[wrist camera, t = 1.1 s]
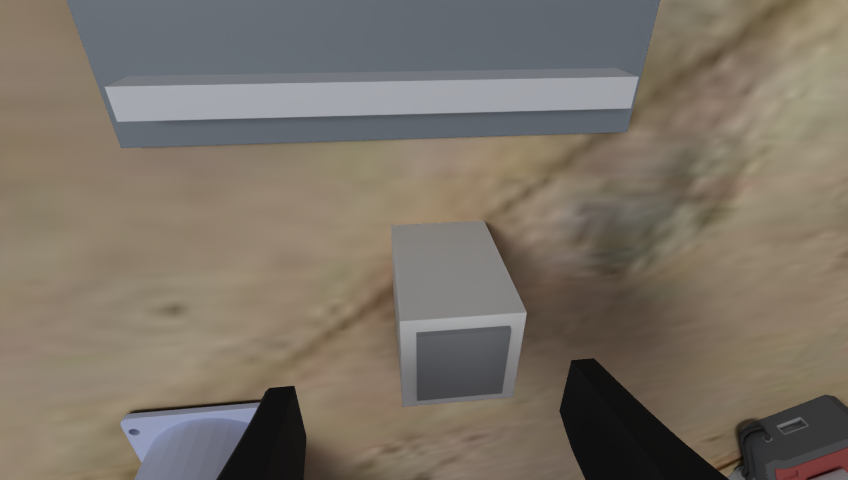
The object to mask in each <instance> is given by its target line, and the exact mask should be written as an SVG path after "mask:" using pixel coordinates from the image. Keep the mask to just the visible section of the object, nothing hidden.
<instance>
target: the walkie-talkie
mask: <svg viewBox="0 0 848 480" xmlns="http://www.w3.org/2000/svg"><path fill="white" fill-rule="evenodd" d="M738 434H739V435H740V436H739V439H740V444H741V449H742V453H743V458H744V463H745V465H743V466H740V467H737V468H736V469H735V470H734V471H733V472H732V473H731V475H730V476H729V477H728V479H729V480H848V408H847V407H846V406H845V405H844V404H842V403H841V402H840V401H839V400H838V399H837V398H836V397H834V396H829V395H823V396H821V397H818V398H816V399H813V400H810V401H808V402H805V403H803V404H800V405H797V406H795V407H792V408H790V409H787V410H784V411H782V412H779V413H777V414H774V415H771V416H769V417H766V418H763V419H761V420H758V421H756V422H753V423H750V424H748V425H746V426H745V427H744V428H743V429H742V430H741V431H740V432H739V433H738Z"/></svg>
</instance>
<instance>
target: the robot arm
mask: <svg viewBox="0 0 848 480" xmlns="http://www.w3.org/2000/svg"><path fill="white" fill-rule="evenodd" d="M560 414H561V417H562V420H563V424H564V427H565V430H566V433H567V436H568V439H569V442H570V445H571V448H572V451H573V453H574V455H575V457H576V460H577V462H578V464H579V466H580V469H581V471H582V473H583V475H584V477H585V480H729V479H728V478H727V477H725V476H724V475H723V474H721V473H720V472H719V471H718V470H716V469H715V468H714V467H713V466H711V465H710V464H709V463H708V462H706V461H705V460H704V459H703V458H702V457H700V456H699V455H698V454H697V453H696V452H694V451H693V450H692V449H691V448H690V447H688V446H687V445H686V444H685V443H684V442H683V441H682V440H680V439H679V438H678V437H677V436H676V435H675V434H674V433H672V432H671V431H670V430H669V429H668V428H667V427H666V426H665V425H664V424H662V423H661V422H660V421H659V420H658V419H657V418H656V417H655V416H654V415H653V414H651V413H650V412H649V411H648V410H647V409H646V408H645V407H644V406H643V405H642V404H641V403H640V402H639V401H638V400H637V399H635V398H634V397H633V396H632V395H631V394H630V393H629V392H628V391H627V390H626V389H625V388H624V387H623V386H622V385H621V384H620V383H619V382H618V381H617V380H616V379H615V378H614V377H613V376H612V375H611V374H610V373H608V372H607V371H606V370H605V369H604V368H603V367H602V366H601V365H600V364H599V363H598V362H597V361H596V360H595V359H594V358H592V359H581V360H572V361H571V365H570V369H569V373H568V377H567V382H566V386H565V390H564V394H563V398H562V402H561V407H560ZM120 425H121V427H122V429H123V431H124V433H125V434H126V436H127V438H128V440H129V441H130V443H131V445H132V447H133V449H134V450H135V452H136V454H137V456H138V457H139V459H140V461H141V463H142V464H141V466H140V469H139V471H138V473H137V475H136V477H135V480H303V476H304V464H305V450H306V433H305V429H304V425H303V420H302V416H301V412H300V408H299V404H298V399H297V395H296V391H295V387H294V386H287V387H276V388H269V389H268V390H267V391H266V392H265V394H264V396H263V398H262V400H261V402H259V403H247V404H236V405H224V406H213V407H201V408H190V409H178V410H167V411H155V412H144V413H132V414H127V415H125V416H124V418H123V419H122V421H121V423H120Z"/></svg>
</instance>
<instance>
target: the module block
mask: <svg viewBox="0 0 848 480" xmlns="http://www.w3.org/2000/svg"><path fill="white" fill-rule="evenodd" d="M391 240H392V265H393V290H394V307H395V320H396V332H397V344H398V356H399V369H400V381H401V393H402V406H403V407H406V406H417V405H428V404H439V403H450V402H461V401H472V400H483V399H495V398H506V397H513V392H514V386H515V380H516V374H517V368H518V362H519V356H520V350H521V344H522V338H523V333H524V327H525V321H526V315H527V312H526V310H525V307H524V305H523V303H522V301H521V299H520V297H519V295H518V292H517V290H516V288H515V286H514V284H513V282H512V280H511V277H510V275H509V273H508V271H507V269H506V267H505V265H504V262H503V260H502V258H501V256H500V254H499V252H498V250H497V247H496V245H495V243H494V241H493V239H492V237H491V235H490V232H489V230H488V228H487V226H486V224H485V222H484V220H483V221H463V222H443V223H423V224H404V225H391Z"/></svg>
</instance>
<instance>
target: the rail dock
mask: <svg viewBox="0 0 848 480" xmlns="http://www.w3.org/2000/svg"><path fill="white" fill-rule="evenodd" d="M67 3H68V6H69V9H70V11H71V14H72V17H73V19H74V22H75V25H76V27H77V30H78V33H79V36H80V38H81V41H82V44H83V46H84V49H85V52H86V54H87V57H88V60H89V62H90V65H91V68H92V71H93V73H94V76H95V79H96V81H97V84H98V87H99V89H100V92H101V95H102V98H103V100H104V103H105V106H106V108H107V111H108V114H109V116H110V119H111V122H112V125H113V127H114V130H115V133H116V135H117V138H118V141H119V143H120V146H121V148H134V147H166V146H197V145H229V144H261V143H292V142H324V141H356V140H387V139H419V138H450V137H482V136H514V135H545V134H577V133H609V132H627V130H628V126H629V122H630V118H631V114H632V110H633V106H634V102H635V98H636V94H637V90H638V86H639V82H640V78H641V74H642V70H643V66H644V62H645V58H646V54H647V50H648V46H649V42H650V38H651V34H652V30H653V26H654V22H655V18H656V14H657V10H658V7H659V3H660V0H67Z"/></svg>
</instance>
